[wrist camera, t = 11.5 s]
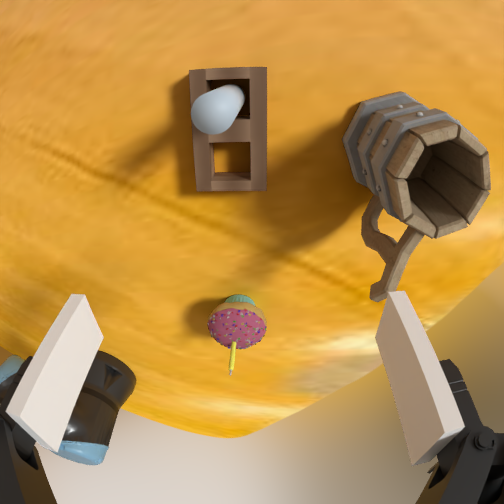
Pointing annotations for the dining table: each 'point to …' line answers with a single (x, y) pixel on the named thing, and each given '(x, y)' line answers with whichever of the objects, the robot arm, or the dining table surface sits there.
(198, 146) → the hole block
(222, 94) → the dowel
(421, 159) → the tankard
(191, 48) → the dining table surface
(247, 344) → the cupcake
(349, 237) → the dining table surface
